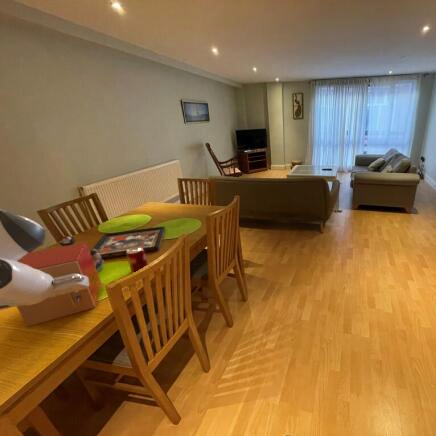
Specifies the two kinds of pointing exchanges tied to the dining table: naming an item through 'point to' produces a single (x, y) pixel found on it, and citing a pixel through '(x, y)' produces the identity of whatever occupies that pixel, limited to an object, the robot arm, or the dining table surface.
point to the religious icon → (129, 241)
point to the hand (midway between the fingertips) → (55, 294)
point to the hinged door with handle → (58, 299)
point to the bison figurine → (97, 259)
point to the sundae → (67, 241)
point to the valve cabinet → (65, 256)
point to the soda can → (136, 258)
